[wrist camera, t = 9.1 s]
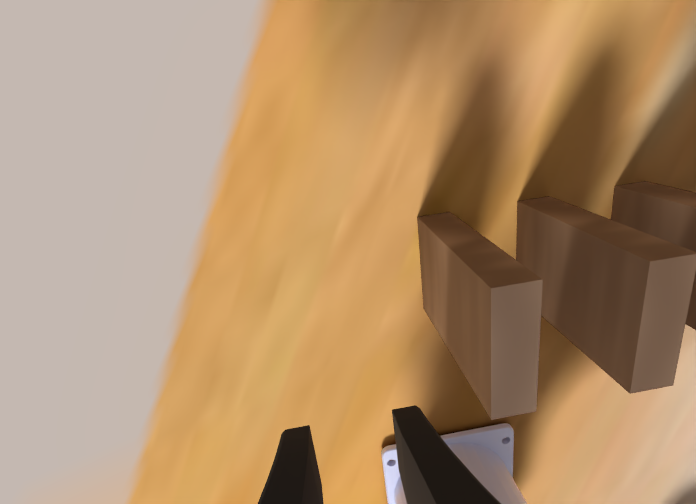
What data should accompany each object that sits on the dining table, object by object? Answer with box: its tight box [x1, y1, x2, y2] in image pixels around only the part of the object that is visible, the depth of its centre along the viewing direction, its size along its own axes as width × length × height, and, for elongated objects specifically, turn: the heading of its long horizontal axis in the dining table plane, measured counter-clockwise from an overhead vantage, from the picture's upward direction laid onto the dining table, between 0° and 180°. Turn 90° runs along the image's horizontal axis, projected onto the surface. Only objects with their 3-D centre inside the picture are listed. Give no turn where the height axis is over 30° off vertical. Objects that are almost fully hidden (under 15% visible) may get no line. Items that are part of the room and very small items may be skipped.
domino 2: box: [516, 196, 696, 394], centre depth 17 cm, size 2×5×8 cm, turn 8°
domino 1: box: [417, 212, 543, 420], centre depth 17 cm, size 2×5×8 cm, turn 7°
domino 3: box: [611, 181, 696, 330], centre depth 17 cm, size 2×5×8 cm, turn 8°
